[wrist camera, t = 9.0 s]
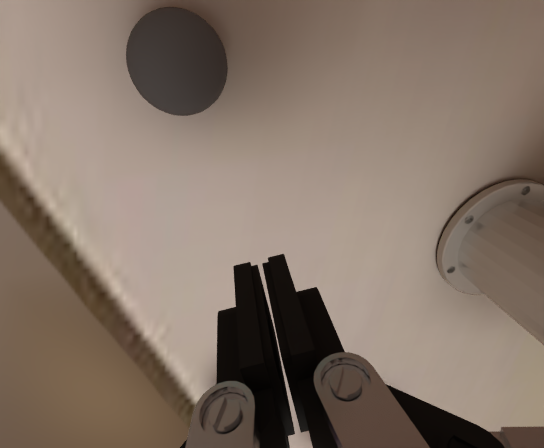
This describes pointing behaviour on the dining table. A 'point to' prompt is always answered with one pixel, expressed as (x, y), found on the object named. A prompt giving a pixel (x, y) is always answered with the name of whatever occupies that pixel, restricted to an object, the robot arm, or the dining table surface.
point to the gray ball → (176, 61)
